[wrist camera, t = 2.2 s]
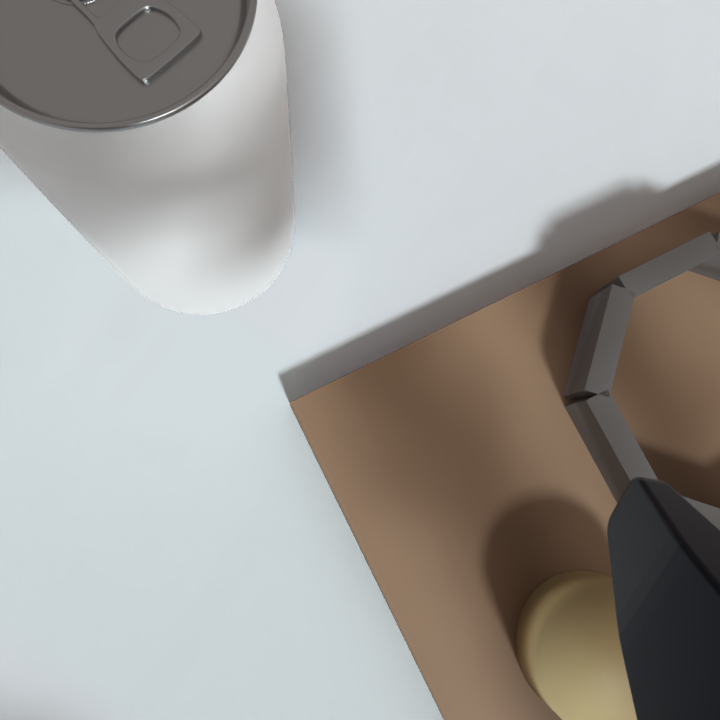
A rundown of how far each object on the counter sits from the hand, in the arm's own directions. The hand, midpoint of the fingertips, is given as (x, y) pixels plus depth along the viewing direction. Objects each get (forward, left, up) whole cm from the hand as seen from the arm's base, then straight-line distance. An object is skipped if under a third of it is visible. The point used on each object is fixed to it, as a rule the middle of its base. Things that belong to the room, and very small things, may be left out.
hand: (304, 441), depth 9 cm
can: (0, +9, -14) cm, 16 cm away
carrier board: (+10, -6, -14) cm, 18 cm away
